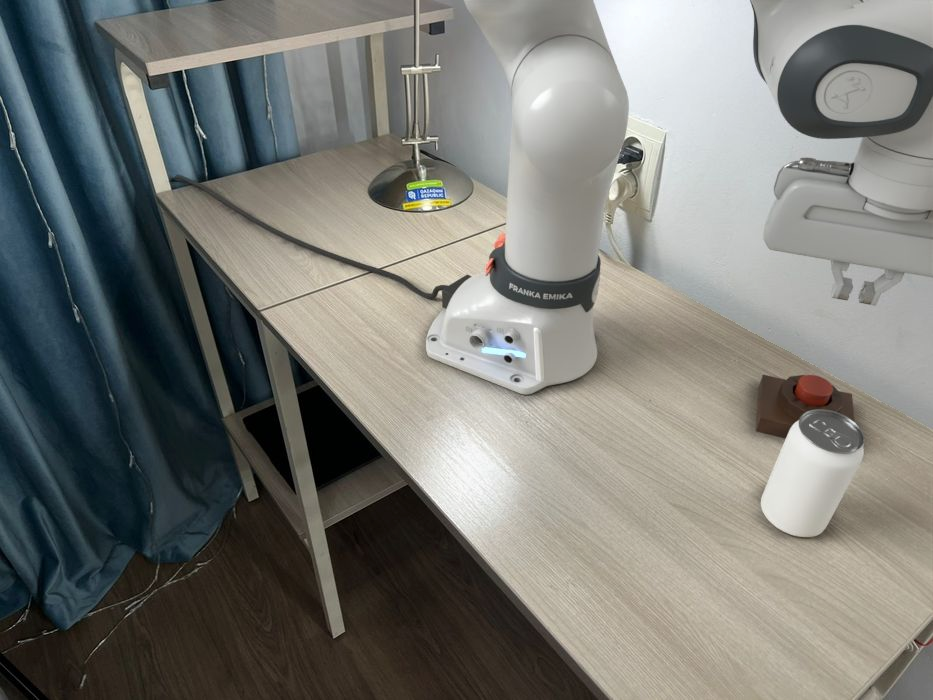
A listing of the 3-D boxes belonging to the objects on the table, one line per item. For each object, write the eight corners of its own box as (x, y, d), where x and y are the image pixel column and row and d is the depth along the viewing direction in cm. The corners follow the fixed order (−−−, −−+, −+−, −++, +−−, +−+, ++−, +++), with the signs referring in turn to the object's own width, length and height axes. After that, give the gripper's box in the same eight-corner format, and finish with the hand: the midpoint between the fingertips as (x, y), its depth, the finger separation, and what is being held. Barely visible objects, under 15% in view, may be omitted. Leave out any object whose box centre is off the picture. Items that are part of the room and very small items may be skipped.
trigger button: (794, 402, 78) (799, 391, 77) (794, 382, 81) (798, 371, 80) (828, 410, 77) (834, 398, 76) (827, 390, 80) (832, 378, 79)
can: (799, 550, 67) (841, 467, 60) (745, 505, 71) (778, 422, 64) (840, 521, 70) (885, 438, 62) (786, 479, 74) (823, 396, 67)
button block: (755, 431, 80) (764, 405, 77) (758, 387, 86) (766, 362, 83) (849, 453, 77) (862, 428, 74) (845, 407, 83) (857, 382, 80)
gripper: (783, 167, 62) (744, 295, 71) (1047, 204, 57) (970, 337, 66) (783, 142, 67) (747, 264, 76) (1028, 173, 61) (958, 302, 70)
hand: (852, 298), depth 71 cm, fingers closed
